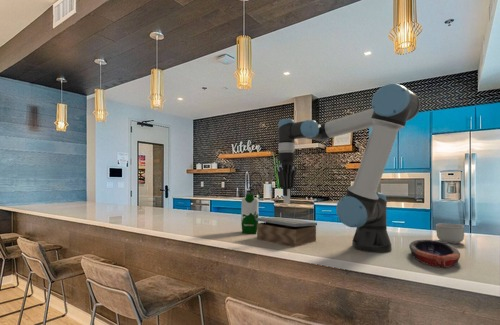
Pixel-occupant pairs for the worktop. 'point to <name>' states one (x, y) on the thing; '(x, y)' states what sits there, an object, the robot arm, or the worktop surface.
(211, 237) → the worktop surface
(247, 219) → the milk carton
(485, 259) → the worktop surface
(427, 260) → the dish
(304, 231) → the walnut box
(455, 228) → the teacup
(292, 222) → the lid
